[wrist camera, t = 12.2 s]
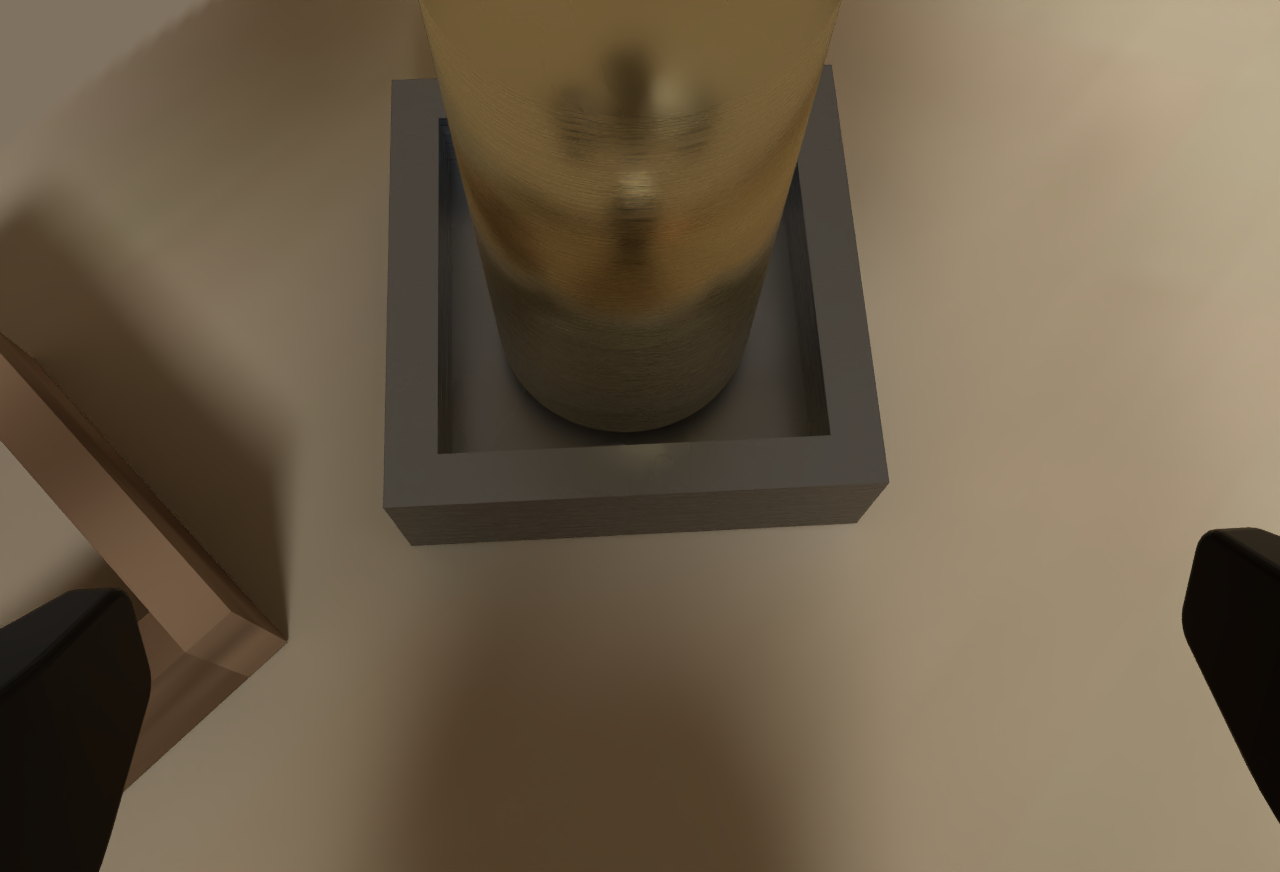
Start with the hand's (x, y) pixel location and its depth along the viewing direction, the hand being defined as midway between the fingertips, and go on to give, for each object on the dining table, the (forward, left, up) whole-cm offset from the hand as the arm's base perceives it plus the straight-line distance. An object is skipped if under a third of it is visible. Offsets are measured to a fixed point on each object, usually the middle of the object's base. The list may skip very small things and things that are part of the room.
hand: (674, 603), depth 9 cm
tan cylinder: (+2, -9, -13) cm, 15 cm away
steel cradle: (+2, -9, -14) cm, 16 cm away
